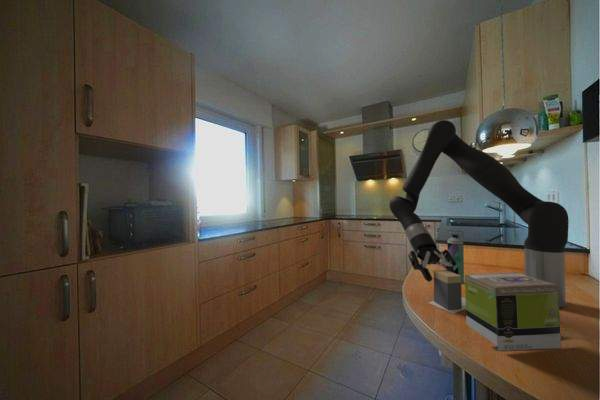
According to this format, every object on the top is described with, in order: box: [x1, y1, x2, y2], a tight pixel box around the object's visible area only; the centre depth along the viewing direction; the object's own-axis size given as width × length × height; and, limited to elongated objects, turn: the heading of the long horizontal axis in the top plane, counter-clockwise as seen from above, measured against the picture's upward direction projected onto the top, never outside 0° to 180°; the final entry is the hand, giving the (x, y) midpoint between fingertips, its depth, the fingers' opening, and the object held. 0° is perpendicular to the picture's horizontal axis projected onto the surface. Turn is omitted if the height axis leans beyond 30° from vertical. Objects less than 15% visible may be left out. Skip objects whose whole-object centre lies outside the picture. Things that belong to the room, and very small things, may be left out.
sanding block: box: [433, 269, 463, 311], centre depth 73 cm, size 4×6×10 cm
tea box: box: [464, 272, 562, 352], centre depth 57 cm, size 15×10×15 cm, turn 92°
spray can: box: [446, 233, 465, 285], centre depth 95 cm, size 6×6×20 cm
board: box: [427, 296, 466, 314], centre depth 74 cm, size 14×8×1 cm, turn 117°
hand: (442, 280), depth 74 cm, fingers open, 8 cm apart
